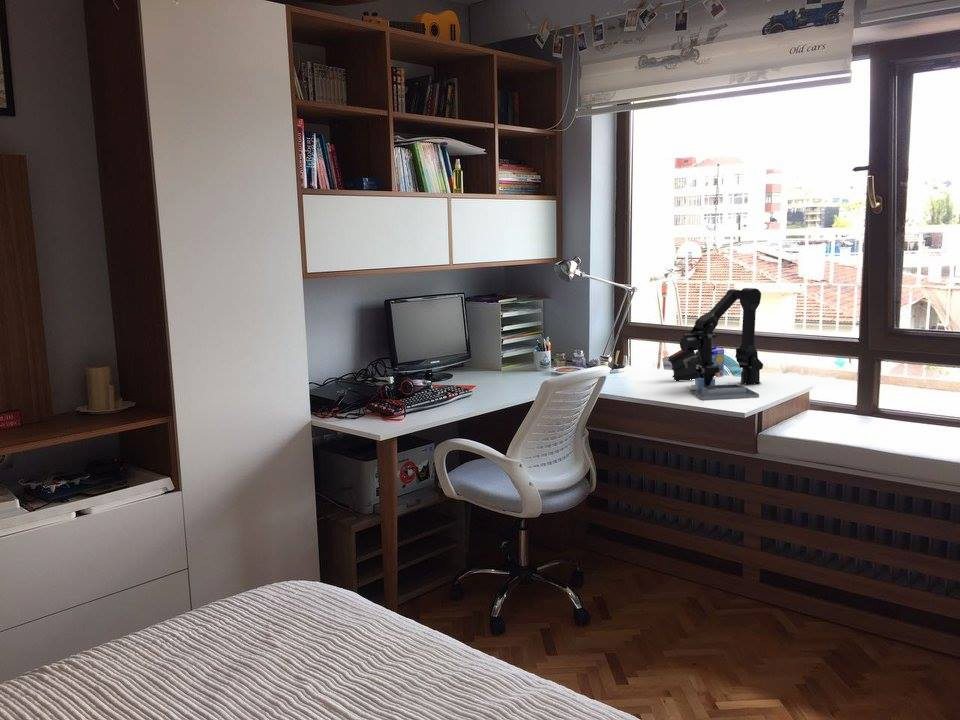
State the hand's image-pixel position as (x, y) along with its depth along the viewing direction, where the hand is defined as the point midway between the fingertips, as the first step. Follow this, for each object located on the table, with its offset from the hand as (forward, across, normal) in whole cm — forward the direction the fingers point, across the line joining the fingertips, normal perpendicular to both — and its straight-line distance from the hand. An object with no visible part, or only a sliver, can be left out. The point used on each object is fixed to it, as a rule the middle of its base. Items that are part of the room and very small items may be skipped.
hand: (705, 387), depth 330 cm
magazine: (+1, -22, -2) cm, 22 cm away
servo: (+1, 0, 0) cm, 1 cm away
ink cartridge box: (+1, -28, +12) cm, 30 cm away
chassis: (+1, +12, +3) cm, 13 cm away
